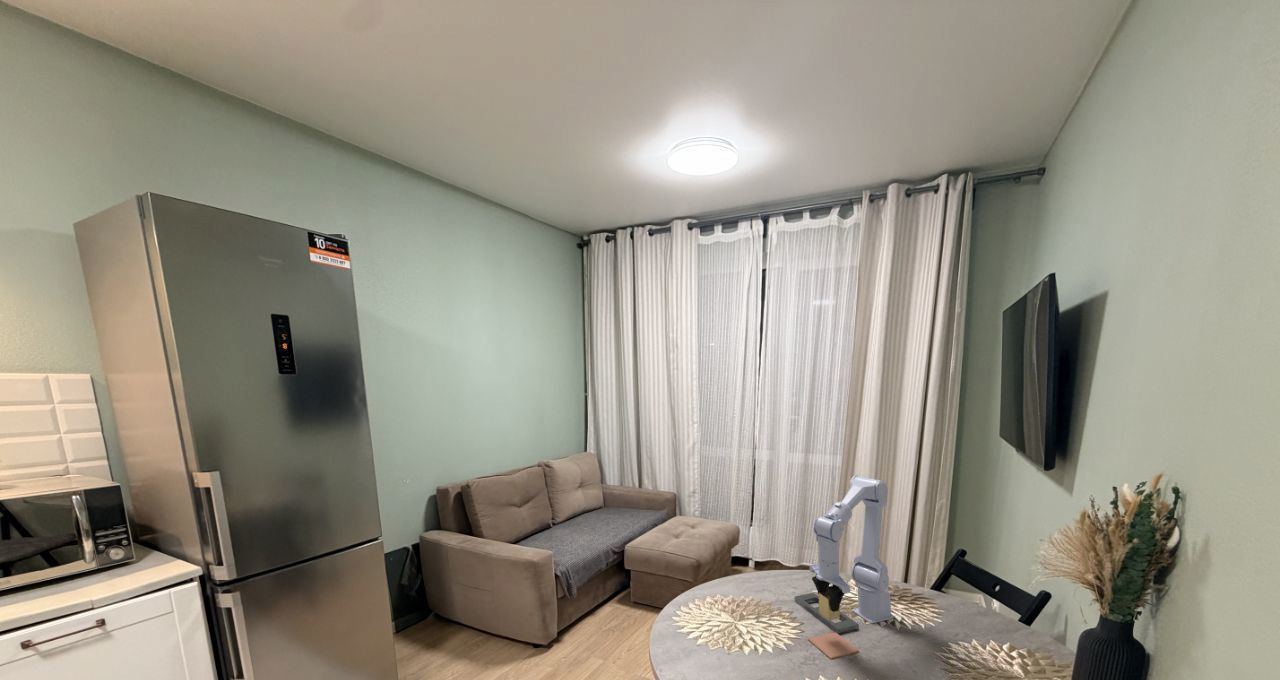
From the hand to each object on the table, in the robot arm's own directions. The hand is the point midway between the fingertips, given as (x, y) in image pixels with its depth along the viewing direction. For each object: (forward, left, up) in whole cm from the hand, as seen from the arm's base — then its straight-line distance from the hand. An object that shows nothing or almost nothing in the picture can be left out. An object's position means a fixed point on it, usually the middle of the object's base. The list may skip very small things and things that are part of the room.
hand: (829, 606), depth 131 cm
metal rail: (-8, -12, -10) cm, 17 cm away
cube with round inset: (0, 0, -3) cm, 3 cm away
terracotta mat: (+1, +2, -10) cm, 10 cm away
